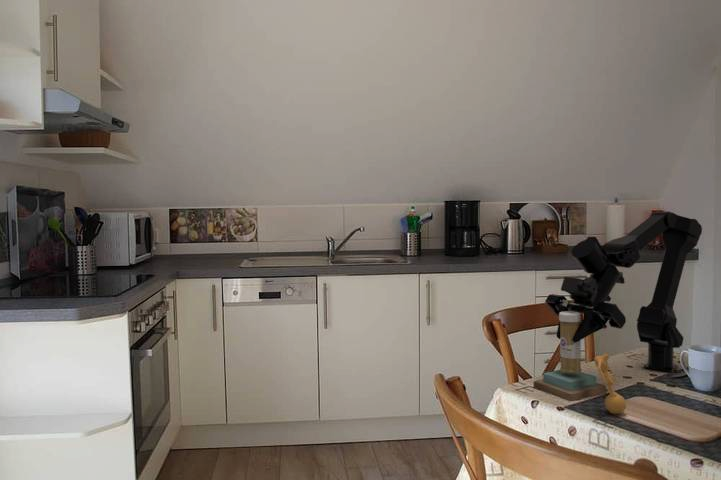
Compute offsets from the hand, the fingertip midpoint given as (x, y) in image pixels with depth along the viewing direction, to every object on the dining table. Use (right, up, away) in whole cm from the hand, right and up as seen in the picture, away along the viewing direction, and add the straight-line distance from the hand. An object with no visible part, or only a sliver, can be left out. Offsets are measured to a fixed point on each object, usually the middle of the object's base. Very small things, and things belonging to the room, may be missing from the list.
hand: (565, 339), depth 133 cm
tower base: (+1, -12, +1) cm, 12 cm away
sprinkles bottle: (+1, -8, +1) cm, 8 cm away
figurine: (+4, -13, -13) cm, 19 cm away
